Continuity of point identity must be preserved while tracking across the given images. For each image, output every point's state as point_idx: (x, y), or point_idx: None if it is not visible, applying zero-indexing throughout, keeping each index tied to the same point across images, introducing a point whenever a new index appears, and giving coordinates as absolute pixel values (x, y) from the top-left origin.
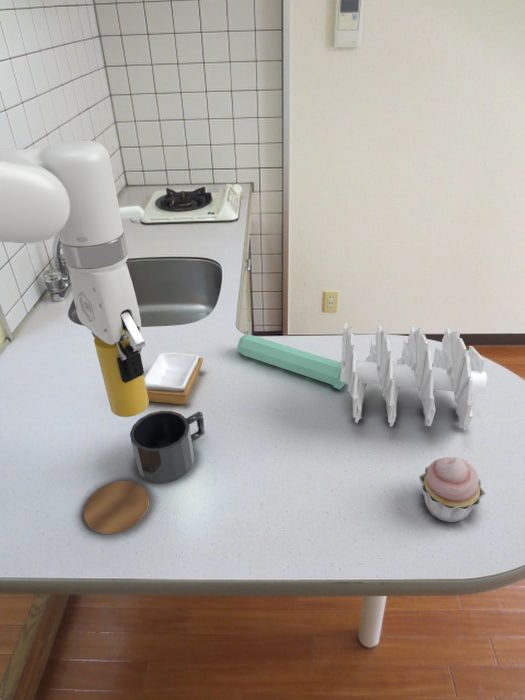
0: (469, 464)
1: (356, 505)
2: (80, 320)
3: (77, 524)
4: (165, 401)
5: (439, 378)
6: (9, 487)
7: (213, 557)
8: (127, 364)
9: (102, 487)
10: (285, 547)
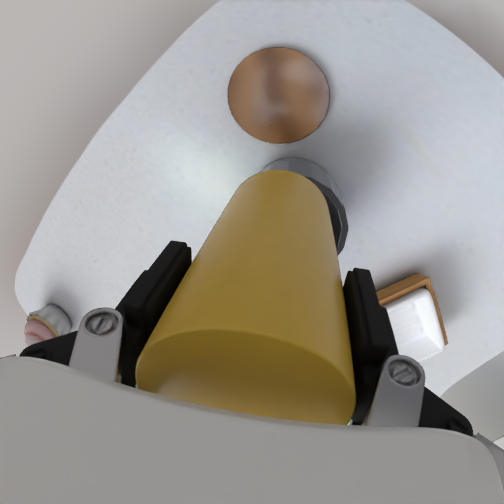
0: None
1: (88, 283)
2: (452, 445)
3: (299, 40)
4: (388, 287)
5: None
6: (442, 31)
7: (120, 139)
8: (119, 304)
9: (327, 102)
10: (86, 203)
